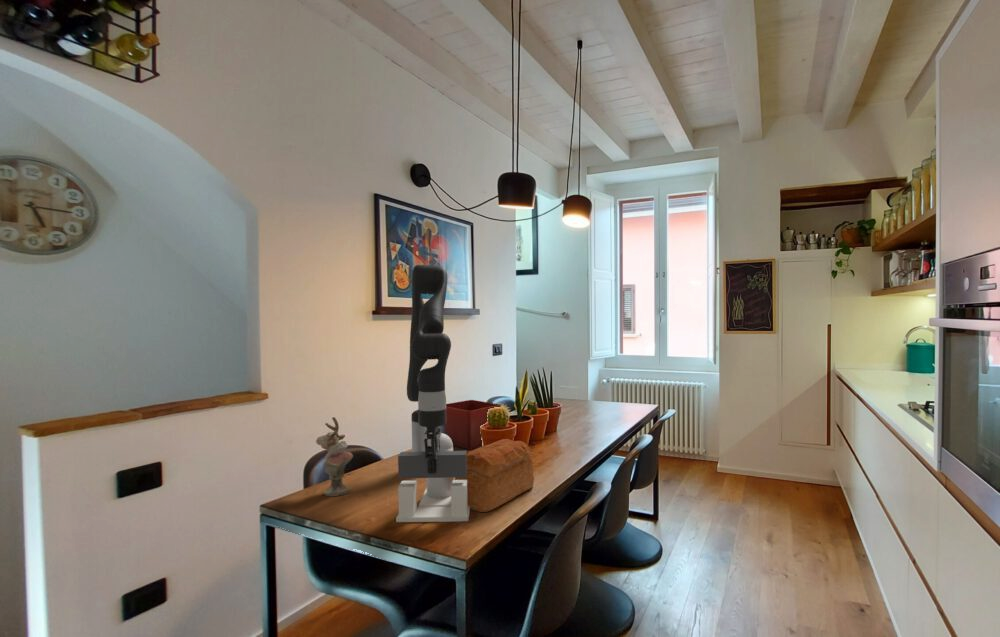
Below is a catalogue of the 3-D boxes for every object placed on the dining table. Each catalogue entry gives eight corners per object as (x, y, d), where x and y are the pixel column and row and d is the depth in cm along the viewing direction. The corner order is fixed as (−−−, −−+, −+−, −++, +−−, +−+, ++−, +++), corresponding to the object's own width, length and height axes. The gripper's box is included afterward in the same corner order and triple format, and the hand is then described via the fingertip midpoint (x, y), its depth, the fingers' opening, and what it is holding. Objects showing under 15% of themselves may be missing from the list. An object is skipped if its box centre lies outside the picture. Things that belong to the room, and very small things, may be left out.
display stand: (411, 491, 153) (410, 430, 153) (473, 491, 153) (472, 429, 153) (396, 522, 131) (395, 449, 130) (468, 521, 130) (466, 448, 130)
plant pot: (502, 443, 209) (502, 404, 209) (469, 453, 196) (469, 410, 196) (471, 436, 223) (471, 399, 223) (438, 445, 209) (438, 405, 209)
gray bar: (466, 472, 136) (466, 450, 136) (465, 477, 132) (465, 454, 132) (401, 473, 136) (401, 451, 136) (398, 478, 132) (398, 456, 132)
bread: (449, 504, 142) (448, 452, 142) (501, 479, 164) (501, 433, 164) (488, 515, 135) (488, 459, 134) (538, 486, 157) (537, 439, 156)
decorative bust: (312, 482, 159) (320, 407, 157) (352, 486, 161) (361, 411, 159) (302, 498, 148) (310, 417, 146) (345, 501, 150) (354, 421, 148)
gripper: (443, 412, 127) (444, 479, 127) (448, 402, 141) (449, 462, 141) (413, 412, 127) (414, 479, 127) (422, 402, 141) (423, 463, 141)
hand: (433, 470), depth 134 cm, fingers closed on gray bar, 4 cm apart
